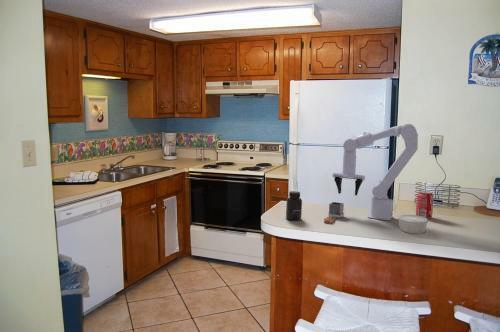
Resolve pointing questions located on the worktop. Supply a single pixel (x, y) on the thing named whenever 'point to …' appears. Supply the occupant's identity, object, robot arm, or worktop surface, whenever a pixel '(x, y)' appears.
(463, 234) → the worktop surface
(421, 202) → the soda can
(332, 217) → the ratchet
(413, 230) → the ramekin
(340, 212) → the socket
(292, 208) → the supplement bottle
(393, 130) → the robot arm
